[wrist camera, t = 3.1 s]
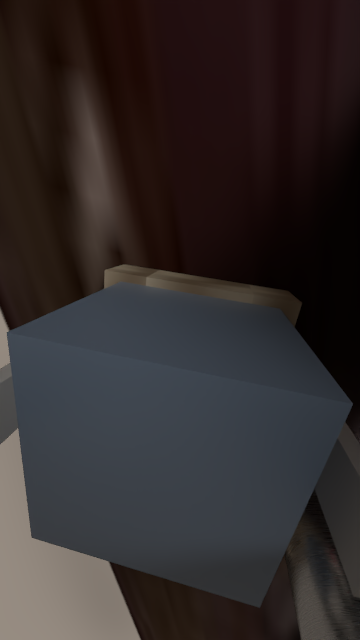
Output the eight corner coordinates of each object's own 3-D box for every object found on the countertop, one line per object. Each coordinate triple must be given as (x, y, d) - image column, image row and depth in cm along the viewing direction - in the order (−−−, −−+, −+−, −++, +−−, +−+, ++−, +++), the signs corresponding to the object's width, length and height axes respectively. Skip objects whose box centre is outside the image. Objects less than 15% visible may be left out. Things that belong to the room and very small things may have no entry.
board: (288, 291, 16) (302, 303, 13) (226, 502, 23) (227, 540, 20) (124, 264, 17) (104, 270, 14) (113, 472, 24) (98, 503, 21)
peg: (333, 453, 19) (491, 764, 8) (315, 492, 21) (425, 799, 9) (275, 439, 20) (345, 714, 8) (262, 479, 21) (305, 755, 10)
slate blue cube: (280, 308, 13) (353, 404, 6) (243, 437, 16) (259, 607, 9) (120, 281, 14) (6, 332, 7) (114, 407, 17) (31, 537, 10)
